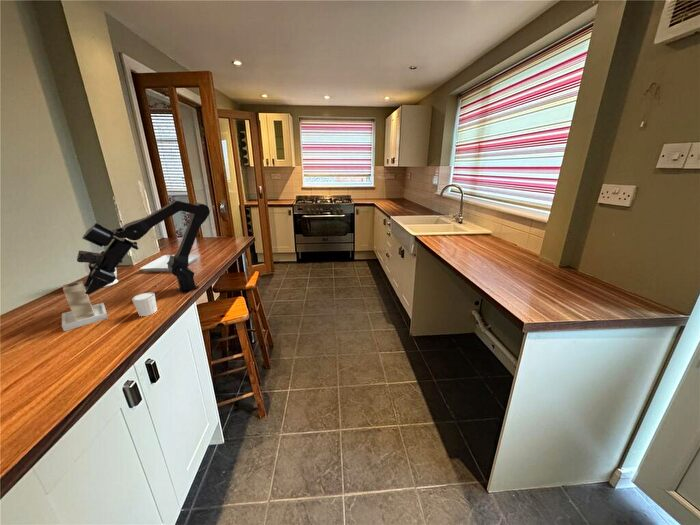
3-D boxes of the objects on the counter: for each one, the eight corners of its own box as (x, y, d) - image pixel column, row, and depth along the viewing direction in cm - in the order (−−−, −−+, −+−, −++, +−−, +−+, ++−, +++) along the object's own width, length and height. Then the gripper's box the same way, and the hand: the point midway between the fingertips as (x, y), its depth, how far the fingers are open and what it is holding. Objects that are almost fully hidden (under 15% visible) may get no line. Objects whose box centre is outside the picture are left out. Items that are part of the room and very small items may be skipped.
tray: (104, 307, 109) (103, 302, 109) (108, 318, 101) (106, 313, 101) (63, 318, 102) (61, 313, 101) (64, 331, 94) (61, 326, 93)
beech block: (94, 311, 105) (82, 280, 100) (94, 316, 101) (82, 284, 97) (75, 316, 101) (63, 284, 97) (76, 321, 98) (62, 288, 94)
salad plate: (181, 273, 142) (179, 267, 141) (139, 274, 142) (137, 268, 141) (202, 259, 162) (201, 254, 161) (166, 260, 162) (164, 254, 161)
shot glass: (148, 318, 101) (142, 301, 98) (132, 317, 102) (126, 299, 100) (163, 309, 107) (159, 292, 105) (148, 307, 108) (143, 291, 106)
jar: (87, 286, 128) (75, 255, 123) (112, 278, 137) (102, 249, 132) (101, 290, 124) (89, 258, 119) (126, 281, 133) (116, 251, 128)
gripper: (87, 237, 104) (58, 273, 100) (91, 247, 91) (57, 288, 88) (121, 252, 111) (94, 285, 108) (128, 263, 99) (98, 302, 96)
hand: (86, 290), depth 100 cm, fingers open, 9 cm apart
